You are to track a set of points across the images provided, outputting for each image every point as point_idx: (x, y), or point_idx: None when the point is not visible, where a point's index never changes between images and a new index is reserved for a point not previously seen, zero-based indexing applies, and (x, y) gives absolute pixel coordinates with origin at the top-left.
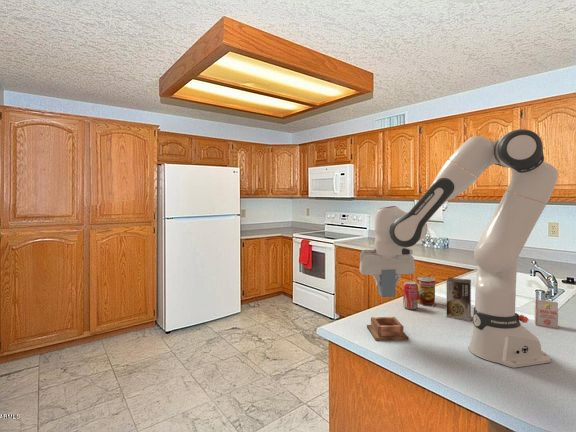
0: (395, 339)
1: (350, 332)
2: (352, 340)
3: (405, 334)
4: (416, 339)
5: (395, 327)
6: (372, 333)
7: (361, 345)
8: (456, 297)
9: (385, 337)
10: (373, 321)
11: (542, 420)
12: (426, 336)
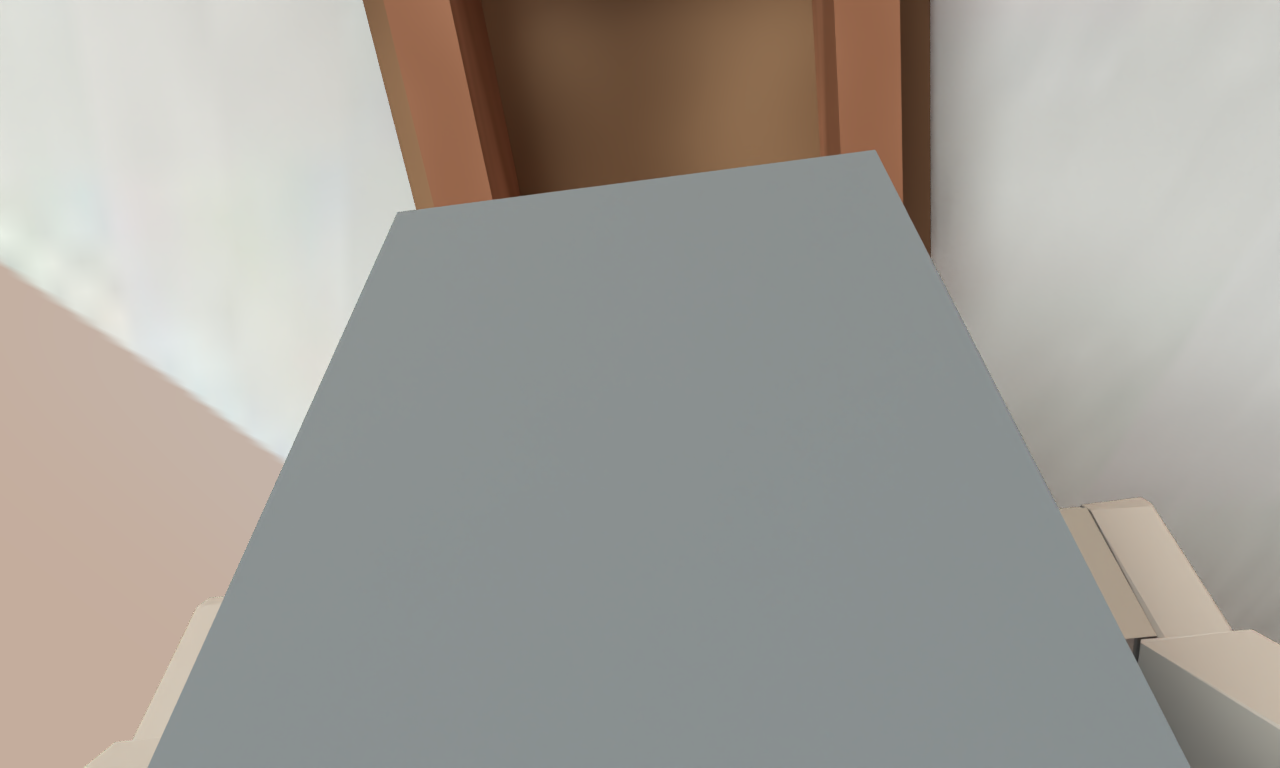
0: None
1: (58, 58)
2: (137, 325)
3: (923, 178)
4: (1047, 224)
5: None
6: (409, 182)
7: (269, 442)
8: None
9: None
10: (405, 78)
11: None
12: (1257, 109)
